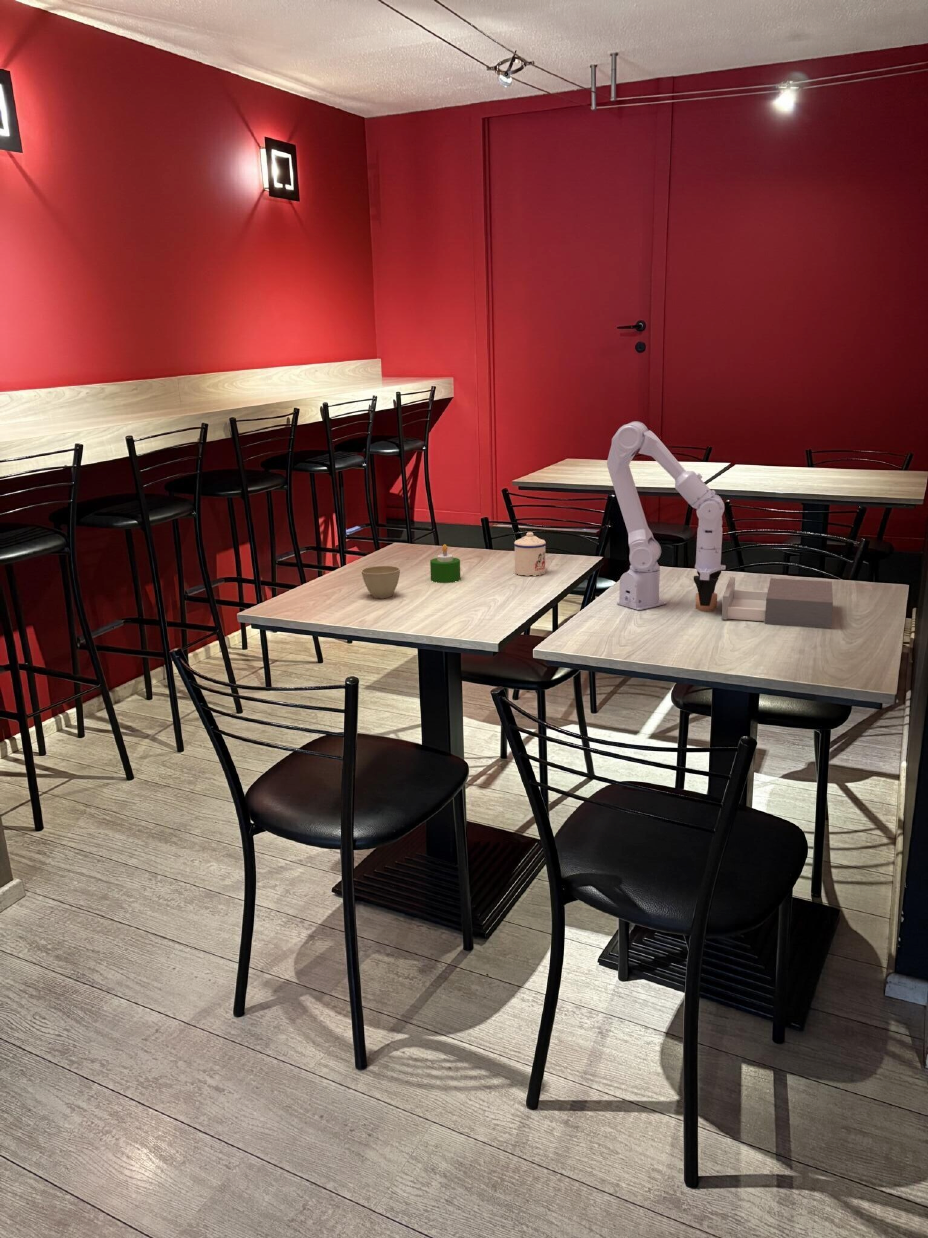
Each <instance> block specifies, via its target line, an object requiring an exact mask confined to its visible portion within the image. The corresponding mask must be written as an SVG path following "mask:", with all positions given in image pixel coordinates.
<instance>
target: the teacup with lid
mask: <svg viewBox="0 0 928 1238" xmlns="http://www.w3.org/2000/svg"><path fill="white" fill-rule="evenodd" d="M546 545H547V542H546V541H545V539H541V538H539V537H537V536H536V535H534V533H533V532H531V531H529V532H527V533H526V535H525V536H522V537H521V538H518V539H517V540H515V541H514V543H513V546H514V574H515V575H517V574H518V576H520V575H528V576H527V577H530V576H529V575H539V576H542V575H541V574H543V575H545V573H546Z"/></svg>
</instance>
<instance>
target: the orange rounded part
mask: <svg viewBox="0 0 928 1238" xmlns="http://www.w3.org/2000/svg"><path fill="white" fill-rule="evenodd" d="M717 608H718V594H717V593H715V592H714V593H712V598H711V602H710V605H709V606H701V605H700V601H699V595H698V592H697V593H695V607H694V609H695V610H697V611H701V612H714V611H716V610H717Z"/></svg>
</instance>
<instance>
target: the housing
mask: <svg viewBox="0 0 928 1238" xmlns="http://www.w3.org/2000/svg"><path fill="white" fill-rule="evenodd" d="M767 592H768V593H767V597H766V610H765V621H764V624H765V625H775V626H777V625H778V626H789V627H790V626H791V627H802V628H803V627H805V628H819V629H831V628H832V619H833V618H832V617H833V606H834V595H833V594H834V593H833V592H834V591H833V582H832V581H826V580H824V581H823V580H809V579H792V578H773V577H771V578H770V580H769V584H768V589H767Z"/></svg>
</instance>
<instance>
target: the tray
mask: <svg viewBox="0 0 928 1238" xmlns="http://www.w3.org/2000/svg"><path fill="white" fill-rule="evenodd" d="M735 587H736V577H735V576H730V577H729V579H728V582H727V583H726V587H725V589H724V592H723V594H722V605H721V606H722V607H721V620H728V619H730V620H732V619H733V620H743V621H753V622H754V621H757V622H765V610H766V597H767V593H768V591H764V590H763V591H761V590H747V589H746V590H745V589H736V588H735Z"/></svg>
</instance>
